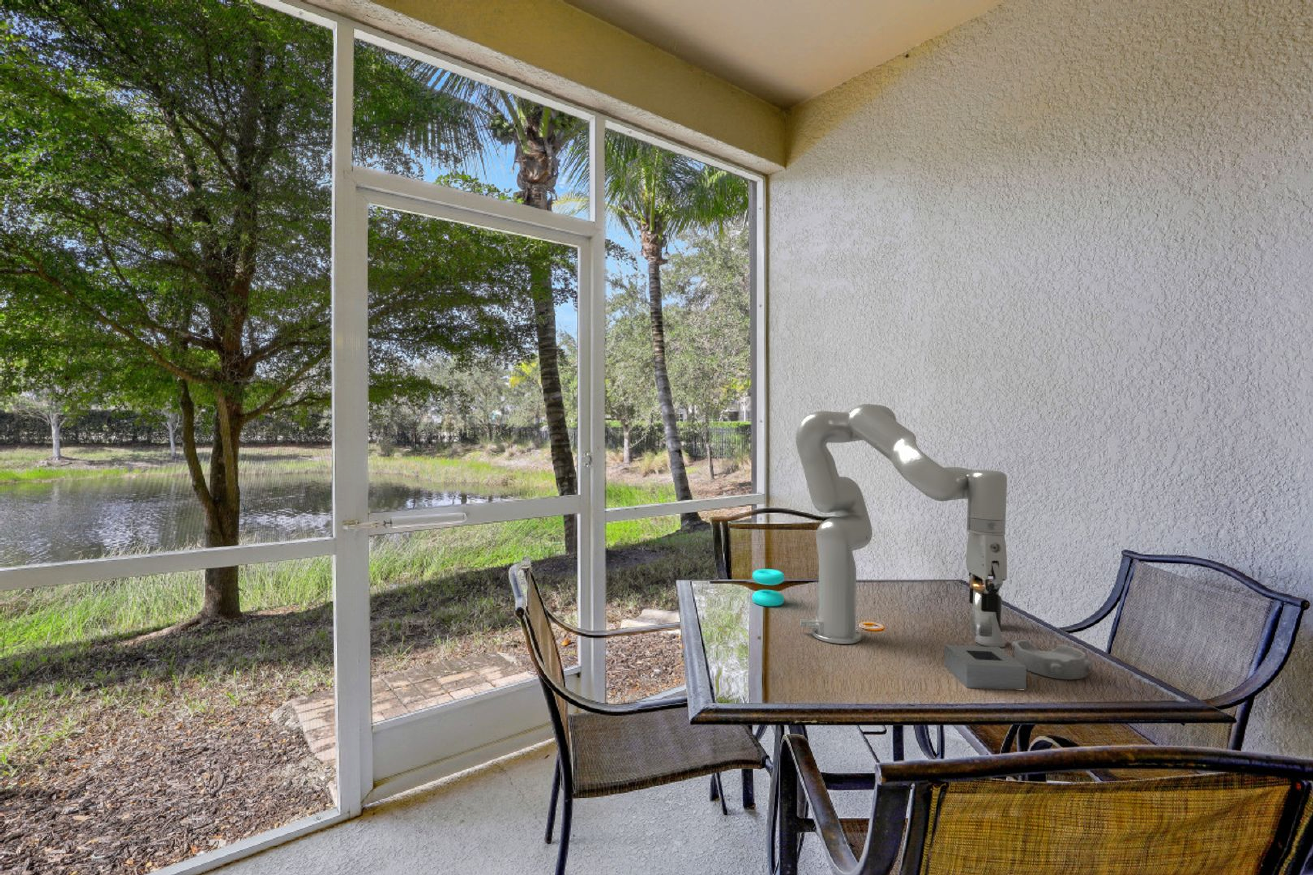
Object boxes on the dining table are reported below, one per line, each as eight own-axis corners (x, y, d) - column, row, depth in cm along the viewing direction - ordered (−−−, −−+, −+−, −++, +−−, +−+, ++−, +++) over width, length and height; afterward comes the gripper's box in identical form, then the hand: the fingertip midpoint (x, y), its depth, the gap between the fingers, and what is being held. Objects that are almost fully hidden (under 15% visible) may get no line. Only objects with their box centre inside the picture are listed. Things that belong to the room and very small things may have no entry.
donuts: (788, 575, 187) (757, 575, 186) (788, 607, 188) (756, 607, 186) (778, 567, 197) (748, 568, 196) (778, 598, 197) (748, 598, 196)
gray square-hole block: (966, 687, 129) (967, 664, 129) (944, 666, 141) (945, 644, 141) (1025, 690, 128) (1026, 667, 128) (998, 668, 140) (999, 647, 140)
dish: (1003, 658, 148) (1003, 637, 147) (1061, 659, 147) (1061, 639, 147) (1038, 682, 133) (1039, 659, 133) (1103, 684, 133) (1104, 661, 133)
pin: (1000, 638, 132) (1002, 587, 132) (974, 636, 132) (976, 585, 132) (989, 630, 137) (990, 580, 137) (964, 628, 138) (966, 579, 138)
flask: (1010, 649, 153) (1010, 609, 153) (979, 647, 155) (979, 607, 155) (999, 639, 160) (1000, 602, 160) (970, 637, 162) (970, 600, 162)
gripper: (1023, 533, 126) (1020, 620, 126) (985, 520, 143) (983, 597, 143) (985, 531, 126) (982, 618, 127) (952, 519, 143) (950, 596, 144)
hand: (982, 606), depth 135 cm, fingers closed on pin, 5 cm apart
